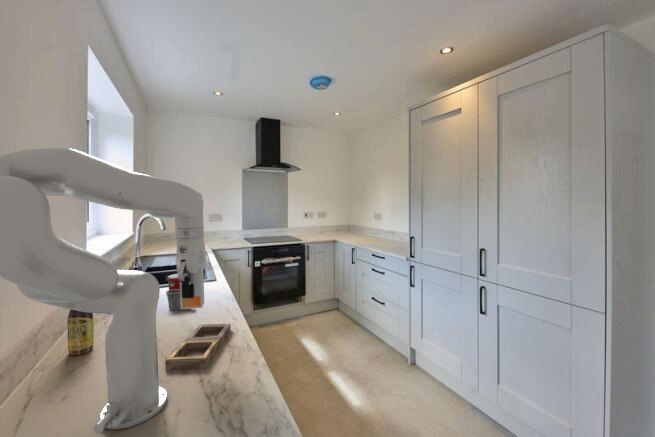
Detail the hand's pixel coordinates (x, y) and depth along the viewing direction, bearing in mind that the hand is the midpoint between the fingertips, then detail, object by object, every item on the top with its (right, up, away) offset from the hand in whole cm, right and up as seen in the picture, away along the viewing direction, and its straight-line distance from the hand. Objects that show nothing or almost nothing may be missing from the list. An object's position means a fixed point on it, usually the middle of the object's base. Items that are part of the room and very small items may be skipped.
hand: (192, 293), depth 85 cm
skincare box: (0, -4, 0) cm, 4 cm away
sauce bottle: (-38, -20, +5) cm, 43 cm away
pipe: (-25, -18, +41) cm, 51 cm away
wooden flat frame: (0, -19, +7) cm, 20 cm away
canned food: (-34, -17, +57) cm, 68 cm away
